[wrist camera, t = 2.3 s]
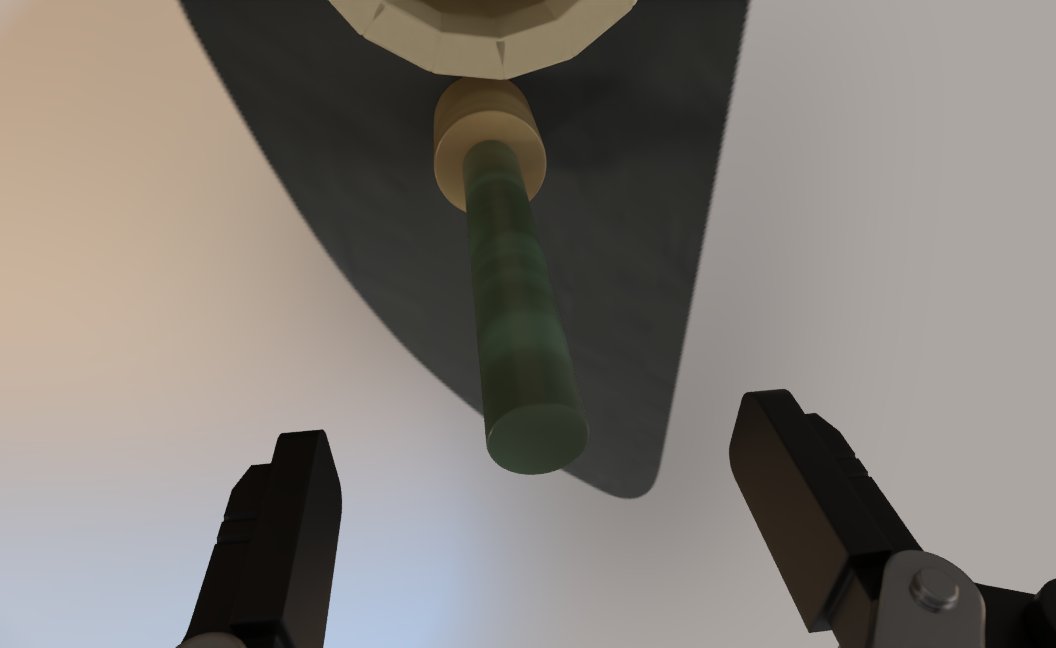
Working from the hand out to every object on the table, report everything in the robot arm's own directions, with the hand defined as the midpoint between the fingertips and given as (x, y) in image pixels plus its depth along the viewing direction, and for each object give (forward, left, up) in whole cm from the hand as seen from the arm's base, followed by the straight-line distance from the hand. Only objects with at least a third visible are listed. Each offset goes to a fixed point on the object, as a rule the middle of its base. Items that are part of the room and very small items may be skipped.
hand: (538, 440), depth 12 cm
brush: (0, 0, -17) cm, 17 cm away
